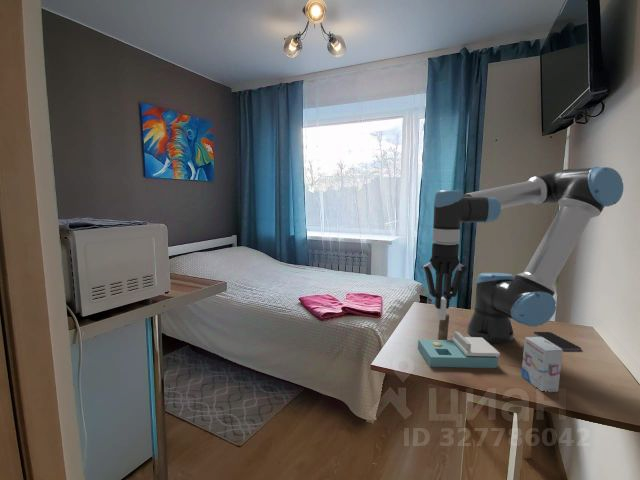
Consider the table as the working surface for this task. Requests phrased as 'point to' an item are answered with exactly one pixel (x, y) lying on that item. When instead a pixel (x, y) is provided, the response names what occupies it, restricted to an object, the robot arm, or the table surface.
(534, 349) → the ink box
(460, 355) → the board
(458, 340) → the cover
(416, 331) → the table surface
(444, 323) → the peg
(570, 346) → the smartphone
